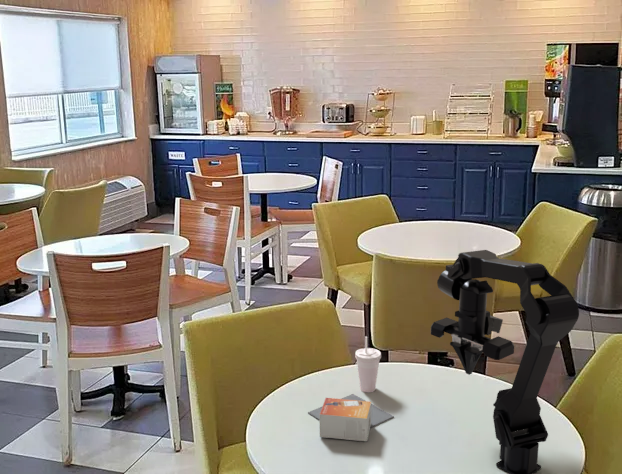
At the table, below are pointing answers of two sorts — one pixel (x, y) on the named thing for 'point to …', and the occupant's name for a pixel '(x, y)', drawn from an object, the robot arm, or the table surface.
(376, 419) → the mat
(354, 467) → the table surface
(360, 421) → the small box
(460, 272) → the robot arm
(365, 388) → the smoothie
